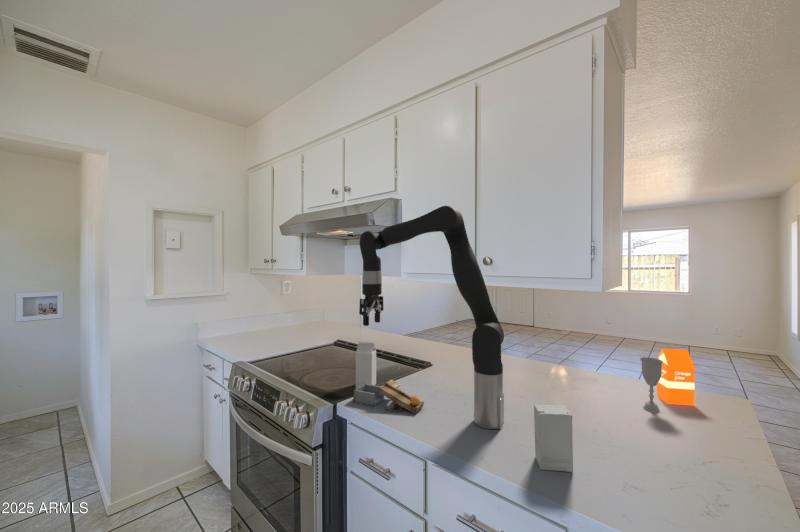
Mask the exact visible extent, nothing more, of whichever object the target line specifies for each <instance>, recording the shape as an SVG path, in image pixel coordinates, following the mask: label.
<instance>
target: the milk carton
mask: <svg viewBox="0 0 800 532" xmlns="http://www.w3.org/2000/svg"><path fill="white" fill-rule="evenodd" d="M363 384H370V385H375V386H377V348H376V347H375V342H366V341H358V343H357V348H356V352H355V389H356V388H358V387H360V386H361V385H363Z"/></svg>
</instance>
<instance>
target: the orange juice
mask: <svg viewBox="0 0 800 532" xmlns="http://www.w3.org/2000/svg"><path fill="white" fill-rule="evenodd" d="M657 359H660V360H662V361H663V363H662V376H661V378H660V380H659V382H658V383H657V385H656V397H658V398H659V399H660V400H662V401H663V402H665V403H666V404H668V405H680V406H691V407H692V406H695V366H694V363H693V361H692V358H691V355H690V352H689V350H688V349H681V348H679V349H678V348H676V349H675V348H662V349H661V351H660V353H659V355H658V358H657Z"/></svg>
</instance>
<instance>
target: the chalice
mask: <svg viewBox="0 0 800 532" xmlns="http://www.w3.org/2000/svg"><path fill="white" fill-rule="evenodd" d="M639 360H640V361H641V374H642V377H643V379H644V381H645V383H646V384H647V385H648V386H649V389H648V392H649V395H648V397H649V400H648V401H646V402H645V403H644V405H643V407H642V409H643V411H644V410H645V411H647V412H650V413H656V414H657V413H661V410H660V407H659V406H658V404H657V403H656V402H655V401H654V398H655V396H654V392H655V390H654V387H657V383H658V382H659V380H660V378H661V376H662V363H663V361H662V360H660V359H658V358H655V357H646V356H645V357H639Z"/></svg>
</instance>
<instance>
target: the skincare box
mask: <svg viewBox="0 0 800 532" xmlns="http://www.w3.org/2000/svg"><path fill="white" fill-rule="evenodd" d="M533 414H534V415H533V416H534V417H533V418H534V419H533V420H534V421H533V422H534V423H533V424H534V454H535V455H534V456H535V459H536V462H537V464H538V465H537V466H538V467H539V469H540V471H541V470H543V471H557V472H569V473H570V472H571V473H573V472H574V452H573V451H574V448H573V447H574V446H573V443H574V442H573V441H574V440H573V415H572V414H571V412H570V410H569V409H567V407H566V406H565V405H560V404H559V405H549V404H533Z"/></svg>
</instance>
